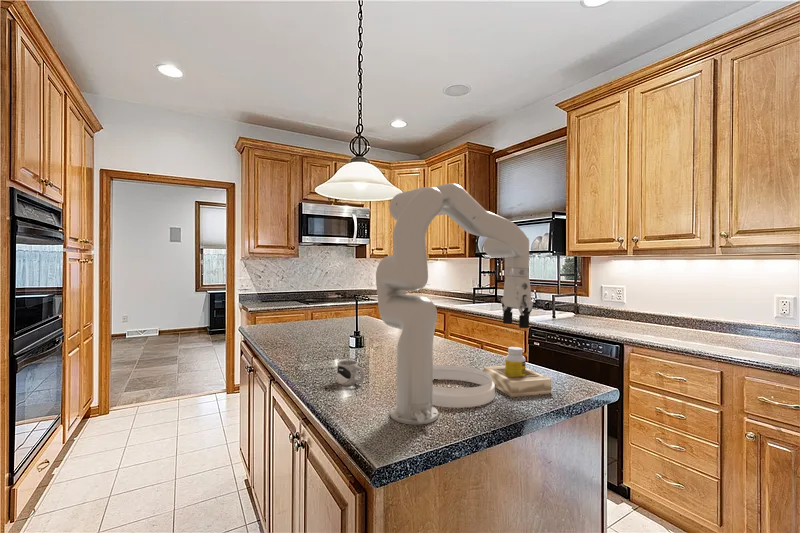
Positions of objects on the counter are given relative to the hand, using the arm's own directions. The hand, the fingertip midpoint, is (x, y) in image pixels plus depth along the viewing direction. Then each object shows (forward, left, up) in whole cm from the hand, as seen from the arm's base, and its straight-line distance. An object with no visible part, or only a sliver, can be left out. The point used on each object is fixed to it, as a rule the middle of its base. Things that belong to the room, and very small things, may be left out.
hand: (515, 325), depth 128 cm
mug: (+16, +52, -20) cm, 58 cm away
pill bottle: (0, 0, -19) cm, 19 cm away
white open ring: (0, +23, -21) cm, 31 cm away
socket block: (0, 0, -20) cm, 20 cm away
